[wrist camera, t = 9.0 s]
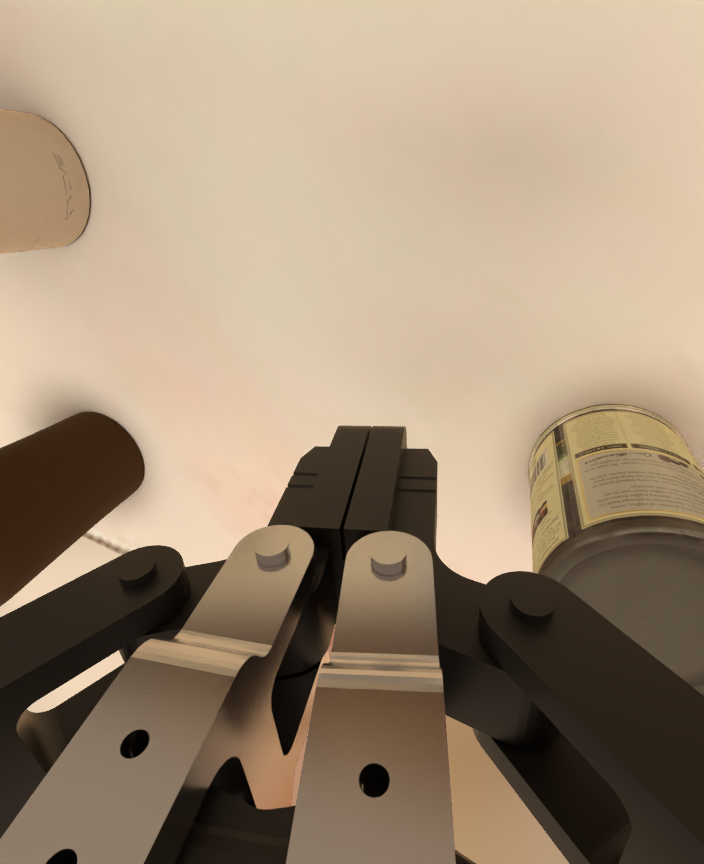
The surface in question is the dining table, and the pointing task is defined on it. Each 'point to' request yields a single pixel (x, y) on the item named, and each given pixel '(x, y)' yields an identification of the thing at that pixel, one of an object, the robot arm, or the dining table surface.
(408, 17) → the dining table surface
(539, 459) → the coffee can
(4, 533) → the olive oil
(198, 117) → the dining table surface
